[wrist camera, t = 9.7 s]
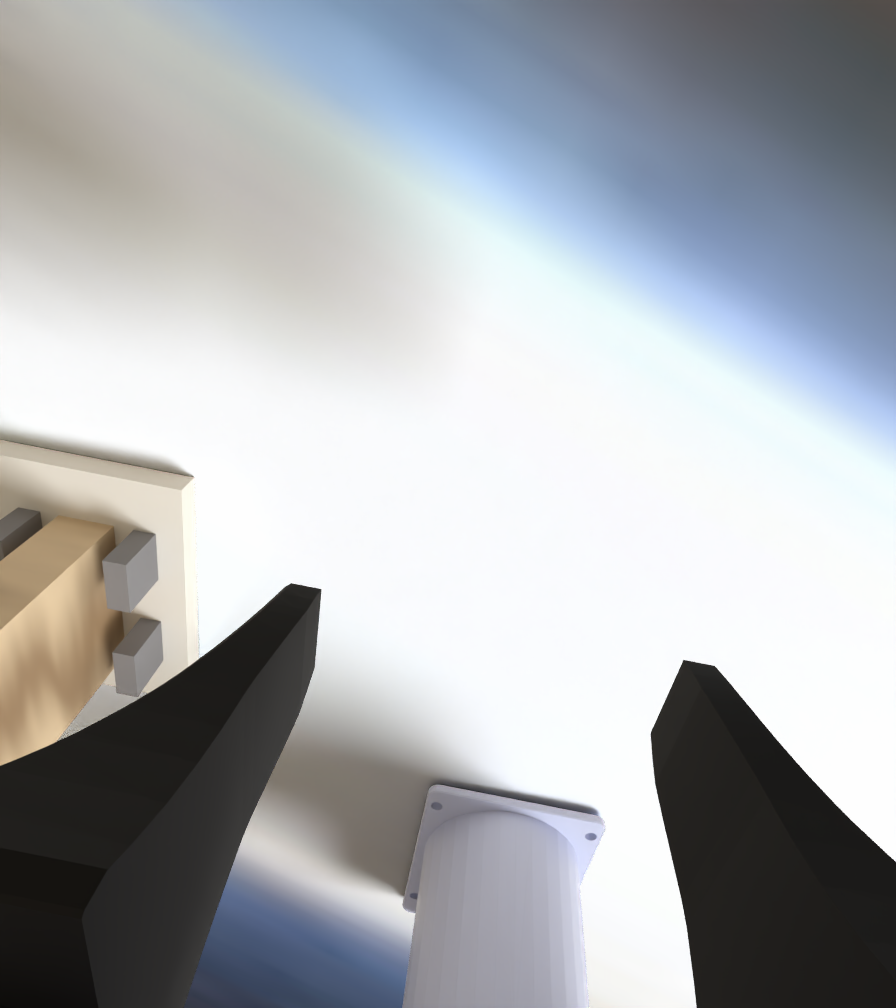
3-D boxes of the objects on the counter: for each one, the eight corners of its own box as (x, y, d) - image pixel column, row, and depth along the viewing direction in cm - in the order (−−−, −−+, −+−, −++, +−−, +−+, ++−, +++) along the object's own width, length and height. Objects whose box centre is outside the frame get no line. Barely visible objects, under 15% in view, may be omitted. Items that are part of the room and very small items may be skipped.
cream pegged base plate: (199, 683, 28) (166, 739, 25) (39, 652, 28) (-11, 704, 25) (194, 477, 23) (152, 519, 20) (1, 440, 23) (-66, 476, 21)
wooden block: (126, 653, 26) (-20, 836, 19) (77, 643, 26) (-86, 823, 19) (113, 525, 23) (-63, 687, 16) (58, 515, 23) (-142, 672, 16)
